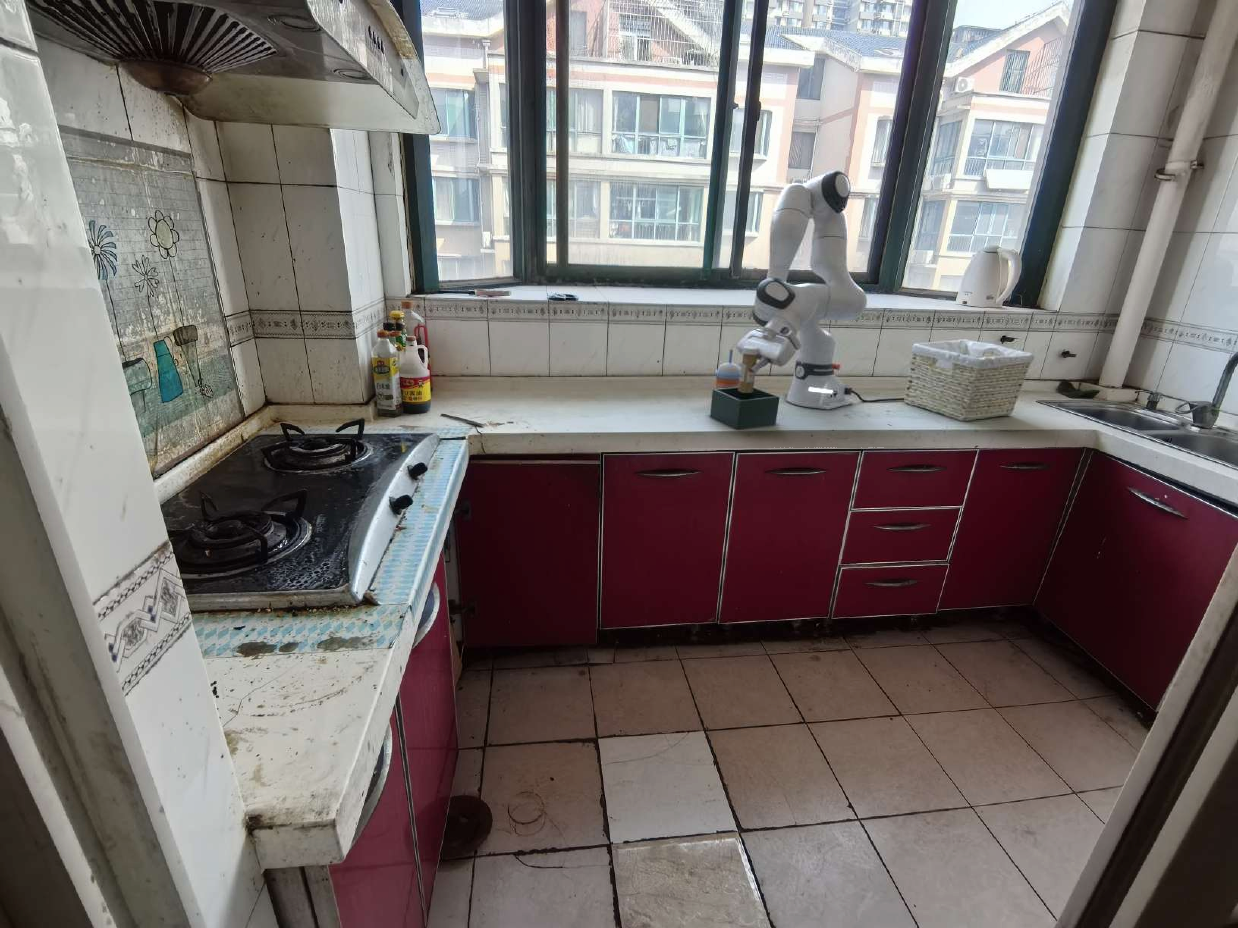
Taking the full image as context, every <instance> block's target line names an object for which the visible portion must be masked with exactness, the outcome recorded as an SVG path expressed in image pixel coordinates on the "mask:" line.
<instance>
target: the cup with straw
mask: <svg viewBox="0 0 1238 928" xmlns="http://www.w3.org/2000/svg"><path fill="white" fill-rule="evenodd" d="M733 352H734V351H733V349H729V354H728V362H724V363H721V364H720V365H719V366H718V368H717V369H716V370H715V371H714V376H715V377H716V379H715V389H722V388H732V387H739V384H740V373H741V367H740V366H739V365H738V364H736V363H735V362H732V361H733V354H734V353H733Z"/></svg>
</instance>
